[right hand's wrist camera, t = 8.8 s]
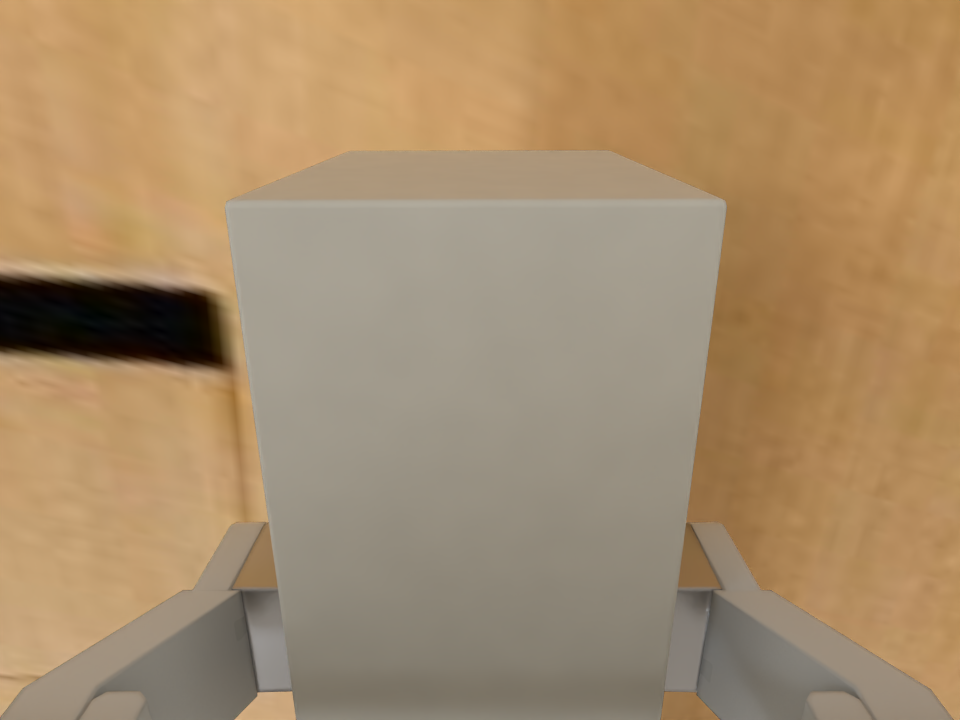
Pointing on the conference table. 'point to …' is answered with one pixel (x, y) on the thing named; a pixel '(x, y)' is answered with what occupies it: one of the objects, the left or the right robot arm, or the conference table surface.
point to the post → (477, 425)
